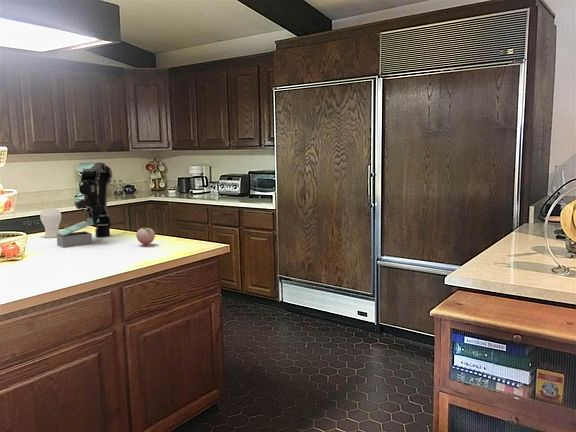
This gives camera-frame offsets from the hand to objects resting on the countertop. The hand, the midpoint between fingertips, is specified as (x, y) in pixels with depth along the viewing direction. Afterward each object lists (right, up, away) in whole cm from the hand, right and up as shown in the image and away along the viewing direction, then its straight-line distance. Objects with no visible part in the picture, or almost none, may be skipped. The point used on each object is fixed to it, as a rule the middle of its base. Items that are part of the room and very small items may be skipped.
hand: (93, 223), depth 248 cm
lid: (-5, -2, -4) cm, 7 cm away
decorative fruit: (+29, -11, -6) cm, 32 cm away
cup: (-32, -8, +22) cm, 40 cm away
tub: (-8, -11, -5) cm, 14 cm away
